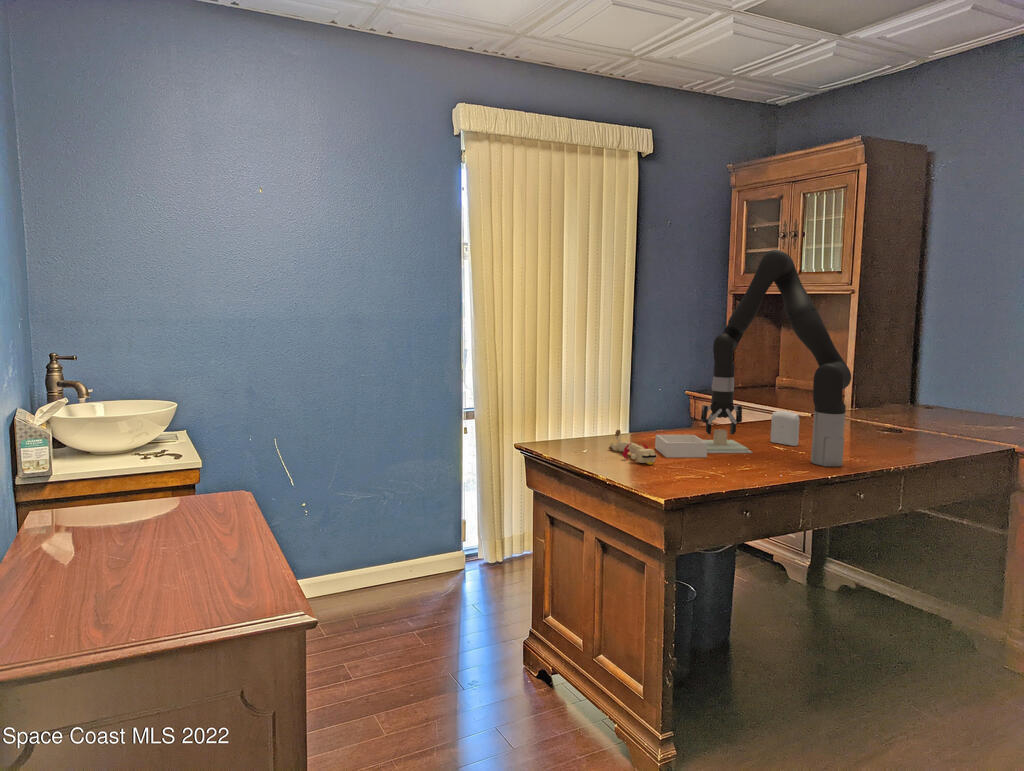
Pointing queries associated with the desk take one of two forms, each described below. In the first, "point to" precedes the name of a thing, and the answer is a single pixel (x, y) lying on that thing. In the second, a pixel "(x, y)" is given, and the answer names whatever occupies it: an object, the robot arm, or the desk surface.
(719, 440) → the lid
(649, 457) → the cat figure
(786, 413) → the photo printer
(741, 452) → the mat
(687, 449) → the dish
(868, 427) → the desk surface
